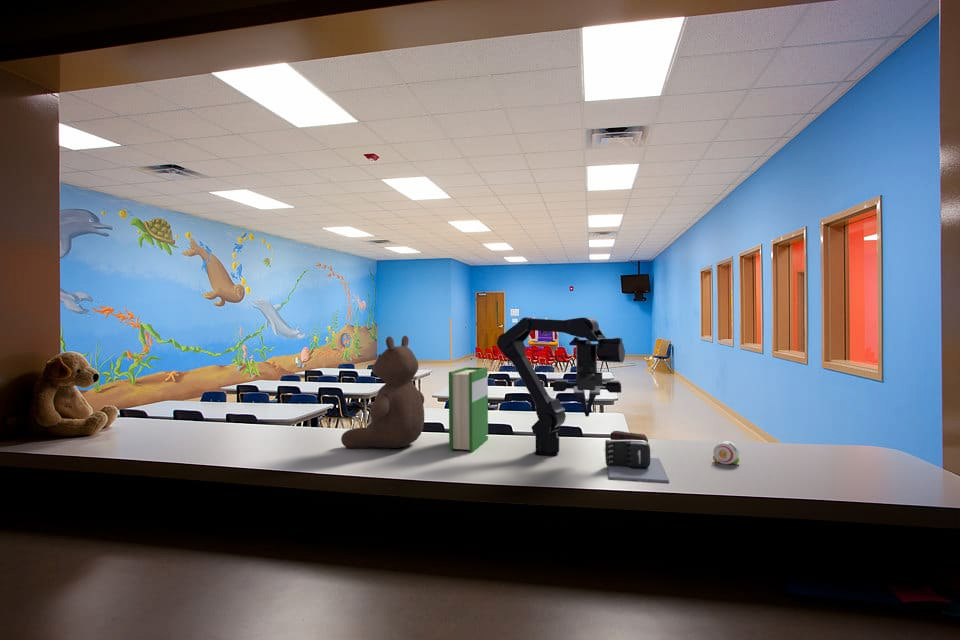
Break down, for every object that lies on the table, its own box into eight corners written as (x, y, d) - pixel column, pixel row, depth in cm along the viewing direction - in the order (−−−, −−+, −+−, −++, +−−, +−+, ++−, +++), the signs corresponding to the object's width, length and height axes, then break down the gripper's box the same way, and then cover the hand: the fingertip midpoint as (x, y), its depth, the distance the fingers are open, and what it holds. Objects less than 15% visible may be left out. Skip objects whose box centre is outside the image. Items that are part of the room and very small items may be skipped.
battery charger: (605, 442, 130) (651, 444, 128) (604, 438, 134) (649, 439, 131) (605, 468, 130) (651, 470, 128) (605, 463, 134) (649, 465, 132)
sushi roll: (736, 467, 132) (736, 445, 132) (711, 463, 136) (710, 442, 136) (740, 463, 136) (740, 442, 136) (715, 459, 140) (715, 439, 140)
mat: (609, 479, 123) (609, 476, 123) (607, 457, 142) (607, 455, 142) (669, 482, 120) (669, 480, 120) (659, 460, 139) (659, 458, 139)
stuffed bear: (380, 433, 177) (377, 335, 178) (437, 437, 169) (435, 334, 170) (326, 454, 150) (324, 338, 151) (392, 459, 142) (389, 336, 143)
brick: (610, 447, 155) (610, 432, 155) (613, 445, 158) (613, 430, 158) (645, 452, 149) (645, 436, 149) (648, 449, 153) (648, 434, 153)
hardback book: (472, 452, 150) (471, 372, 150) (449, 451, 152) (448, 372, 152) (488, 439, 166) (487, 367, 167) (466, 438, 169) (466, 367, 169)
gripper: (551, 363, 136) (551, 420, 136) (621, 364, 132) (622, 423, 132) (554, 360, 147) (554, 413, 147) (620, 361, 143) (620, 415, 143)
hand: (587, 416), depth 142 cm, fingers closed
